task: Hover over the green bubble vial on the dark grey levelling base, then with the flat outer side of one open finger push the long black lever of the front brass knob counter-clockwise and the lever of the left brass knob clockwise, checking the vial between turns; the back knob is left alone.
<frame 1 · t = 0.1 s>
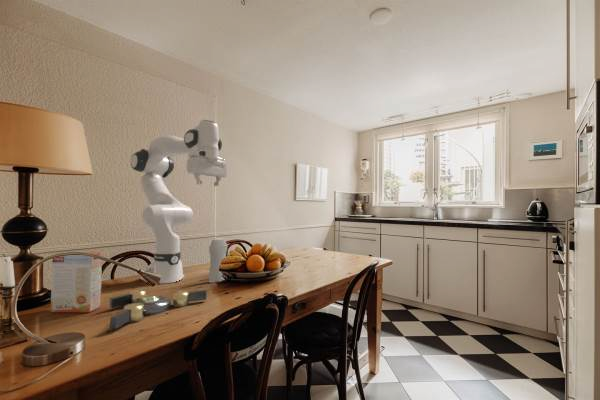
hand: (208, 185, 126), 48 cm above the table, tool pointing down, fingers open, 8 cm apart
knob front: (126, 316, 89), point 2 cm above the table, hinge at 0.0°
knob left: (189, 297, 108), point 2 cm above the table, hinge at 0.0°
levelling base: (151, 308, 102), on the table
knob back: (128, 299, 105), point 2 cm above the table, hinge at 0.0°
tall pale column: (217, 281, 141), on the table
cracker box: (76, 310, 100), on the table
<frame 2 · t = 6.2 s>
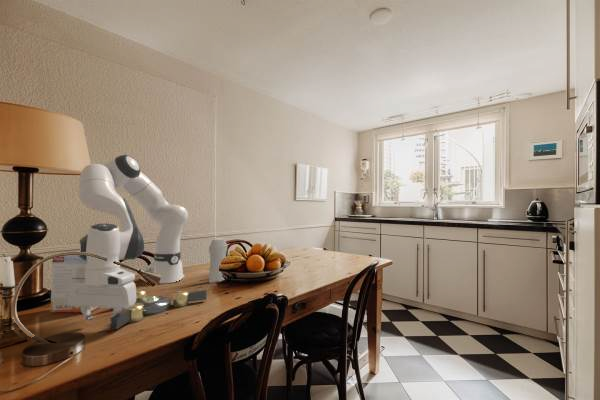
hand: (101, 320, 86), 2 cm above the table, tool pointing down, fingers open, 7 cm apart
knob front: (127, 316, 89), point 2 cm above the table, hinge at 1.8°, touching gripper
everything else where it was.
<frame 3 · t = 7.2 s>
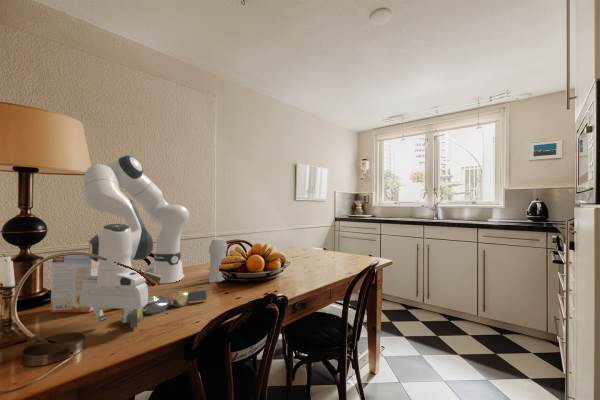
hand: (113, 321, 85), 2 cm above the table, tool pointing down, fingers open, 6 cm apart
knob front: (133, 315, 89), point 2 cm above the table, hinge at 34.9°, touching gripper
everything else where it was.
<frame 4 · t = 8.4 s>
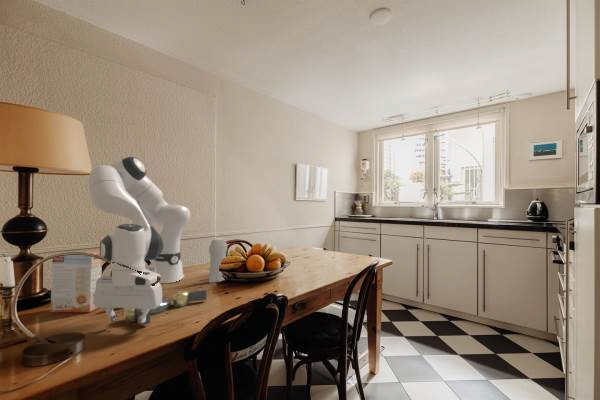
hand: (127, 321, 85), 2 cm above the table, tool pointing down, fingers open, 8 cm apart
knob front: (138, 314, 90), point 2 cm above the table, hinge at 57.6°, touching gripper
everything else where it was.
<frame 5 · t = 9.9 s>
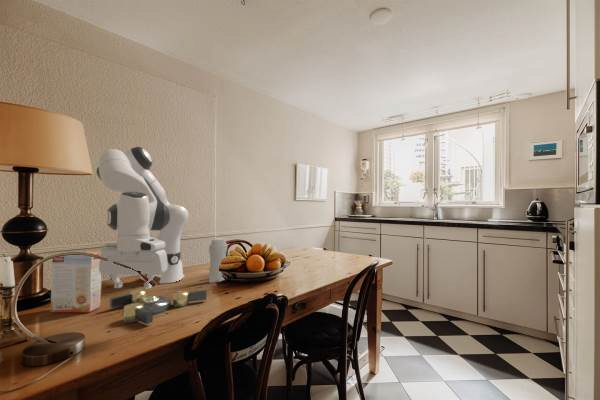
hand: (133, 287, 86), 12 cm above the table, tool pointing down, fingers open, 8 cm apart
knob front: (139, 314, 90), point 2 cm above the table, hinge at 62.8°
everything else where it was.
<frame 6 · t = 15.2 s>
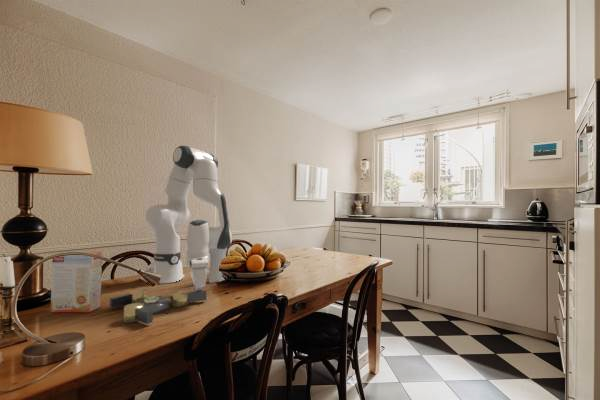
hand: (197, 292, 114), 2 cm above the table, tool pointing down, fingers open, 7 cm apart
knob left: (189, 297, 108), point 2 cm above the table, hinge at -2.6°, touching gripper
everything else where it was.
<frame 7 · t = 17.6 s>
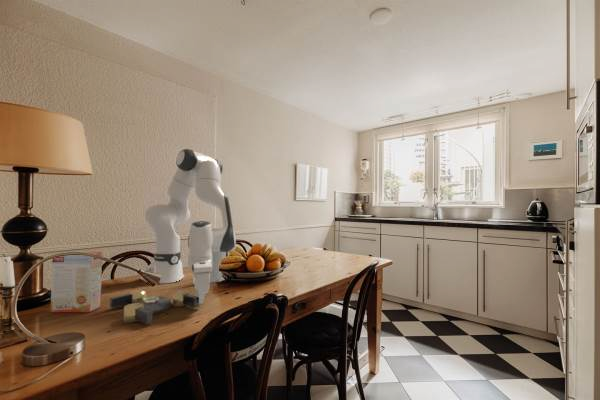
hand: (199, 299, 107), 2 cm above the table, tool pointing down, fingers open, 8 cm apart
knob left: (186, 300, 105), point 2 cm above the table, hinge at -57.9°, touching gripper
everything else where it was.
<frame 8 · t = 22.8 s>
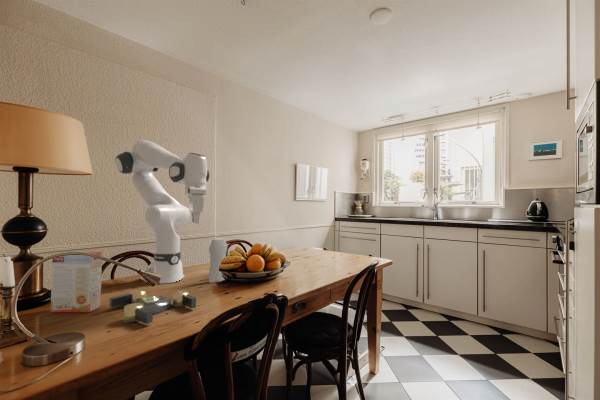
hand: (195, 222, 118), 31 cm above the table, tool pointing down, fingers open, 8 cm apart
knob left: (185, 300, 104), point 2 cm above the table, hinge at -65.1°
everything else where it was.
at the end: knob front at +63° (first picture: +0°); knob left at -65° (first picture: +0°); knob back at +0° (first picture: +0°) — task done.
